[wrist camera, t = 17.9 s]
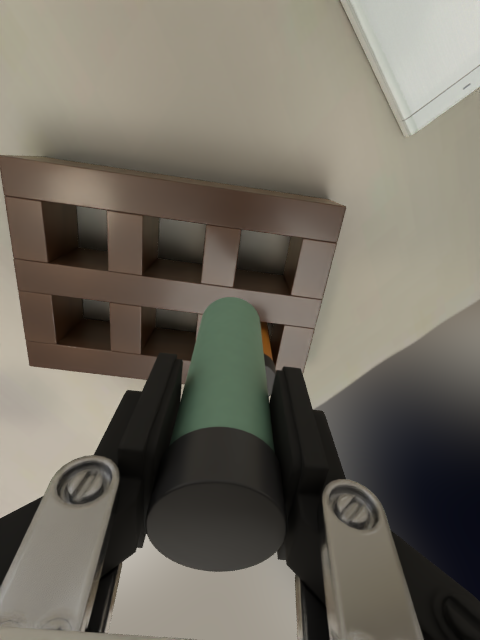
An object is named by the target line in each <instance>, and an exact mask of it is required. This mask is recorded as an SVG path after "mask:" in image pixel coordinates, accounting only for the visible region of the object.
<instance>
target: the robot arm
mask: <svg viewBox="0 0 480 640" xmlns="http://www.w3.org/2000/svg"><path fill="white" fill-rule="evenodd" d="M182 367H183V359H177V354H170V353H161V352H160V353H159V354H158V356H157V359H156V361H155V363H154V365H153V368H152V370H151V372H150V375H149V377H148V379H147V382H146V384H145V386H144V388H143V391H142V392H141V391H132V390H128V391H126V393H125V394H124V396H123V398H122V400H121V402H120V404H119V406H118V408H117V410H116V412H115V414H114V416H113V418H112V420H111V422H110V424H109V426H108V428H107V430H106V432H105V434H104V436H103V438H102V440H101V442H100V444H99V446H98V448H97V450H96V452H95V454H94V455H91V456H84V457H80V458H77V459H74V460H73V461H71V462H69V463H67V464H65V465H64V466H63V467H62V468H61V469H60V470H58V471H57V472H56V474H55V475H54V477H53V478H52V480H51V481H50V484H49V486H48V488H47V490H46V492H45V494H44V496H43V497H41V498H39V499H37V500H35V501H33V502H31V503H29V504H27V505H25V506H23V507H21V508H19V509H18V510H16V511H14V512H12V513H10V514H8V515H6V516H4V517H2V518H0V640H194V639H181V638H167V637H153V636H138V635H123V634H108V631H109V627H110V621H111V617H112V612H113V607H114V602H115V597H116V592H117V587H118V583H119V578H120V573H121V568H122V562H123V561H124V560H125V559H126V558H128V557H129V556H131V555H132V554H133V553H135V552H136V548H137V547H138V548H142V546H143V543H144V539H145V535H146V534H147V532H146V525H145V521H146V515H147V511H148V507H149V504H150V500H151V496H152V493H153V489H154V486H155V482H156V478H157V475H158V471H159V467H160V464H161V460H162V457H163V455H164V453H165V451H166V450H167V448H168V447H169V445H170V441H171V437H172V433H173V429H174V425H175V421H176V417H177V413H178V409H179V406H180V398H181V382H182ZM269 406H270V415H271V424H272V433H273V442H274V451H275V454H276V456H277V458H278V460H279V463H280V469H281V477H282V485H283V493H284V500H285V509H286V517H287V534H286V537H285V540H284V542H283V544H282V545H281V547H280V548H279V549H278V550H277V554H278V559H280V560H286V562H287V565H288V566H289V567H290V568H291V569H292V570H293V572H294V573H295V574H296V575H295V588H296V589H295V590H296V615H297V640H480V602H479V601H478V600H477V599H476V598H475V597H474V596H473V595H472V594H471V593H469V592H468V591H467V590H466V589H464V588H463V587H462V586H461V585H459V584H458V583H457V582H455V581H454V580H453V579H452V578H450V577H449V576H448V575H447V574H445V573H444V572H443V571H442V570H440V569H439V568H438V567H436V566H435V565H434V564H433V563H431V562H430V561H429V560H427V559H426V558H425V557H424V556H422V555H421V554H420V553H419V552H417V551H416V550H415V549H414V548H412V547H411V546H410V545H408V544H407V543H406V542H405V541H404V540H402V539H401V538H400V537H399V536H397V535H396V534H395V533H393V532H392V531H391V530H390V527H389V524H388V521H387V517H386V514H385V511H384V509H383V507H382V505H381V503H380V501H379V500H378V499H377V497H376V496H375V495H374V494H373V493H371V491H369V490H368V489H367V488H366V487H364V486H362V485H361V484H359V483H357V482H354V481H351V480H346V478H345V475H344V472H343V469H342V466H341V463H340V460H339V457H338V454H337V451H336V447H335V444H334V441H333V438H332V435H331V432H330V429H329V426H328V423H327V420H326V417H325V414H324V412H323V411H319V410H313V409H312V406H311V402H310V399H309V395H308V392H307V388H306V385H305V381H304V377H303V374H302V370H301V368H294V367H286V366H284V367H283V368H282V370H277V371H276V374H275V379H274V383H273V388H272V393H271V398H270V403H269Z"/></svg>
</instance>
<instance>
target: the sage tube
mask: <svg viewBox="0 0 480 640" xmlns="http://www.w3.org/2000/svg"><path fill="white" fill-rule="evenodd" d="M145 525H146V532H147V535H148V537H149V539H150V541H151V543H152V544H153V545H154V547H155V548H156V549H157V550H158V551H159V552H160V553H162V554H163V555H164V556H165V557H167V558H169V559H170V560H172V561H174V562H176V563H178V564H181V565H183V566H186V567H190V568H193V569H198V570H204V571H215V572H222V571H235V570H240V569H244V568H248V567H251V566H254V565H257V564H259V563H261V562H263V561H264V560H266V559H268V558H269V557H271V556H272V555H273V554H274V553H276V552H277V550H278V549H279V548H280V547H281V545H282V544H283V542H284V540H285V537H286V534H287V517H286V509H285V500H284V493H283V485H282V477H281V469H280V463H279V460H278V458H277V456H276V454H275V451H274V442H273V433H272V424H271V415H270V406H269V397H268V388H267V379H266V370H265V361H264V352H263V343H262V334H261V325H260V318H259V315H258V313H257V311H256V310H255V308H254V307H253V306H252V305H251V304H250V303H248V302H247V301H245V300H243V299H240V298H236V297H225V298H221V299H218V300H216V301H214V302H213V303H211V304H210V305H209V306H208V307H207V308H206V310H205V311H204V314H203V316H202V320H201V324H200V328H199V332H198V335H197V339H196V343H195V347H194V351H193V355H192V359H191V363H190V367H189V371H188V374H187V378H186V382H185V386H184V390H183V394H182V398H181V402H180V406H179V409H178V413H177V417H176V421H175V425H174V429H173V433H172V437H171V441H170V445H169V447H168V448H167V450H166V451H165V453H164V455H163V457H162V460H161V464H160V467H159V471H158V475H157V478H156V482H155V486H154V489H153V493H152V496H151V500H150V504H149V507H148V511H147V515H146V521H145Z"/></svg>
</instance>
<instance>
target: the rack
mask: <svg viewBox="0 0 480 640" xmlns="http://www.w3.org/2000/svg"><path fill="white" fill-rule="evenodd" d="M0 171H1V178H2V184H3V191H4V195H5V204H6V210H7V217H8V224H9V230H10V237H11V244H12V251H13V257H14V266H15V272H16V279H17V286H18V290H19V291H18V292H19V299H20V306H21V312H22V319H23V326H24V332H25V339H26V345H27V352H28V358H29V365H30V366H34V367H42V368H51V369H59V370H68V371H76V372H85V373H93V374H102V375H110V376H119V377H127V378H136V379H144V380H147V379H148V377H149V375H150V372H151V370H152V368H153V365H154V363H155V361H156V359H157V356H158V354H159V353H160V352H161V353H170V354H177V359H183V367H182V382H181V384H185V382H186V378H187V374H188V371H189V367H190V363H191V359H192V355H193V351H194V347H195V343H196V339H197V335H198V332H199V328H200V324H201V320H202V316H203V314H204V311H205V310H206V308H207V307H208V306H209V305H210V304H211V303H213V302H214V301H216V300H218V299H221V298H225V297H236V298H240V299H243V300H245V301H247V302H248V303H250V304H251V305H252V306H253V307H254V308H255V310H256V311H257V313H258V315H259V318H260V322H268V323H274V324H273V329H272V334H271V339H270V346H271V352H272V359H273V362H274V364H275V369H276V371H277V370H282V368H283V367H284V366H286V367H294V368H301V370H302V374H303V372H304V368H305V364H306V361H307V357H308V353H309V349H310V345H311V341H312V337H313V334H314V330H315V329H314V328H315V326H316V322H317V318H318V315H319V311H320V307H321V303H322V299H323V295H324V291H325V287H326V283H327V279H328V276H329V272H330V268H331V264H332V260H333V256H334V252H335V249H336V245H337V241H338V237H339V233H340V229H341V225H342V222H343V218H344V214H345V210H346V206H343V205H341V204H339V203H336V202H334V201H331V200H329V199H323V198H317V197H310V196H303V195H297V194H290V193H283V192H276V191H270V190H263V189H256V188H250V187H243V186H236V185H229V184H223V183H216V182H209V181H203V180H196V179H189V178H182V177H176V176H169V175H162V174H156V173H149V172H142V171H135V170H129V169H122V168H115V167H108V166H102V165H95V164H88V163H82V162H75V161H68V160H61V159H55V158H48V157H39V156H12V155H0ZM76 206H82V207H89V208H96V209H103V210H107V239H108V251H101V250H94V249H87V248H79V243H78V227H77V212H76ZM159 218H166V219H173V220H180V221H187V222H194V223H201V224H207V225H206V231H205V242H204V253H203V263H202V264H197V263H189V262H182V261H175V260H167V259H160V258H158V241H159ZM241 229H243V230H250V231H257V232H264V233H271V234H278V235H285V236H291V238H290V243H289V248H288V253H287V258H286V263H285V268H284V273H283V275H277V274H270V273H263V272H255V271H248V270H241V269H236V266H237V259H238V251H239V244H240V237H241ZM82 299H89V300H97V301H105V302H110V303H109V308H110V322H109V321H101V320H93V319H85V318H84V317H83V302H82ZM156 308H159V309H167V310H175V311H183V312H190V313H198V317H197V328H196V332H188V331H180V330H172V329H164V328H156V327H155V325H156Z"/></svg>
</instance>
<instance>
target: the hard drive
mask: <svg viewBox="0 0 480 640" xmlns="http://www.w3.org/2000/svg"><path fill="white" fill-rule="evenodd" d="M340 1H341V3H342V6H343V8H344V10H345V12H346V14H347V16H348V18H349V20H350V22H351V25H352V27H353V29H354V31H355V33H356V35H357V38H358V40H359V42H360V44H361V46H362V48H363V50H364V52H365V54H366V56H367V59H368V61H369V63H370V65H371V67H372V69H373V71H374V74H375V76H376V78H377V80H378V82H379V84H380V86H381V88H382V90H383V93H384V95H385V97H386V99H387V101H388V103H389V105H390V107H391V110H392V112H393V114H394V116H395V118H396V120H397V122H398V124H399V127H400V129H401V131H402V133H403V135H404V137H408V136H411V135H413V134H415V133H416V132H418V131H419V130H421V129H422V128H423V127H425V126H426V125H428V124H429V123H430V122H432V121H433V120H434V119H436V118H437V117H439V116H440V115H441V114H443V113H444V112H446V111H447V110H448V109H450V108H451V107H453V106H454V105H455V104H457V103H458V102H459V101H461V100H462V99H464V98H465V97H466V96H468V95H469V94H471V93H472V92H473V91H475V90H476V89H477V88H479V87H480V0H340Z"/></svg>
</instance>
